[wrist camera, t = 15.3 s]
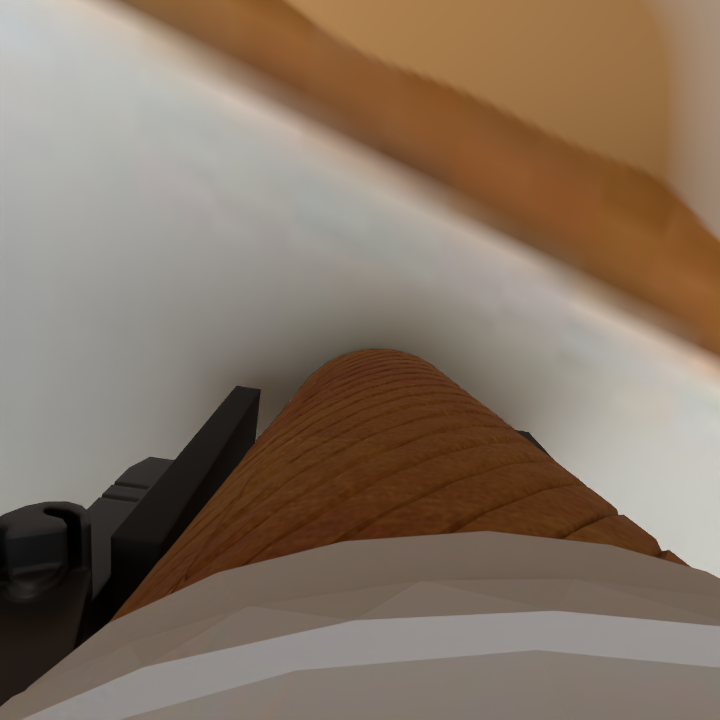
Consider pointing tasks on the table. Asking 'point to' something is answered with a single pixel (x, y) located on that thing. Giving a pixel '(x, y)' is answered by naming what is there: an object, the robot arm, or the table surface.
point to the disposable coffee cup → (399, 581)
